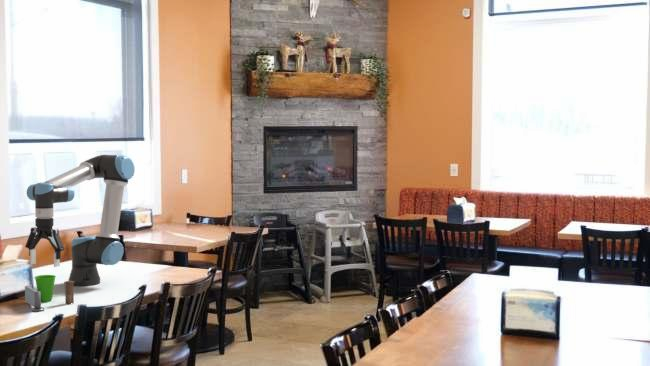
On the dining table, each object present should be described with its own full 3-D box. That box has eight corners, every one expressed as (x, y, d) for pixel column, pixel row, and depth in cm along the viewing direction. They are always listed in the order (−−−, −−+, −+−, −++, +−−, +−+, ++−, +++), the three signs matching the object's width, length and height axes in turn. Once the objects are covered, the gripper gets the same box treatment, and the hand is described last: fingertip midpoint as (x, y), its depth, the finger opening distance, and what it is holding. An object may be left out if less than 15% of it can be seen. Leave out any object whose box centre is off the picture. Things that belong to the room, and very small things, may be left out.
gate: (41, 308, 326) (41, 291, 325) (35, 309, 324) (35, 292, 324) (29, 300, 339) (29, 285, 339) (24, 301, 338) (23, 285, 337)
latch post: (69, 302, 341) (69, 280, 341) (74, 303, 340) (74, 281, 339) (64, 303, 339) (64, 281, 338) (69, 304, 337) (69, 282, 337)
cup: (49, 303, 338) (48, 279, 337) (30, 302, 340) (30, 278, 339) (60, 299, 347) (59, 275, 346) (41, 298, 349) (41, 274, 348)
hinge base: (37, 308, 329) (37, 306, 329) (46, 309, 327) (46, 308, 327) (28, 311, 325) (28, 309, 324) (37, 312, 323) (37, 310, 322)
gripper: (16, 216, 342) (17, 264, 344) (60, 220, 332) (60, 268, 334) (29, 215, 349) (29, 261, 351) (72, 218, 339) (72, 266, 341)
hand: (44, 265), depth 342 cm, fingers open, 13 cm apart
